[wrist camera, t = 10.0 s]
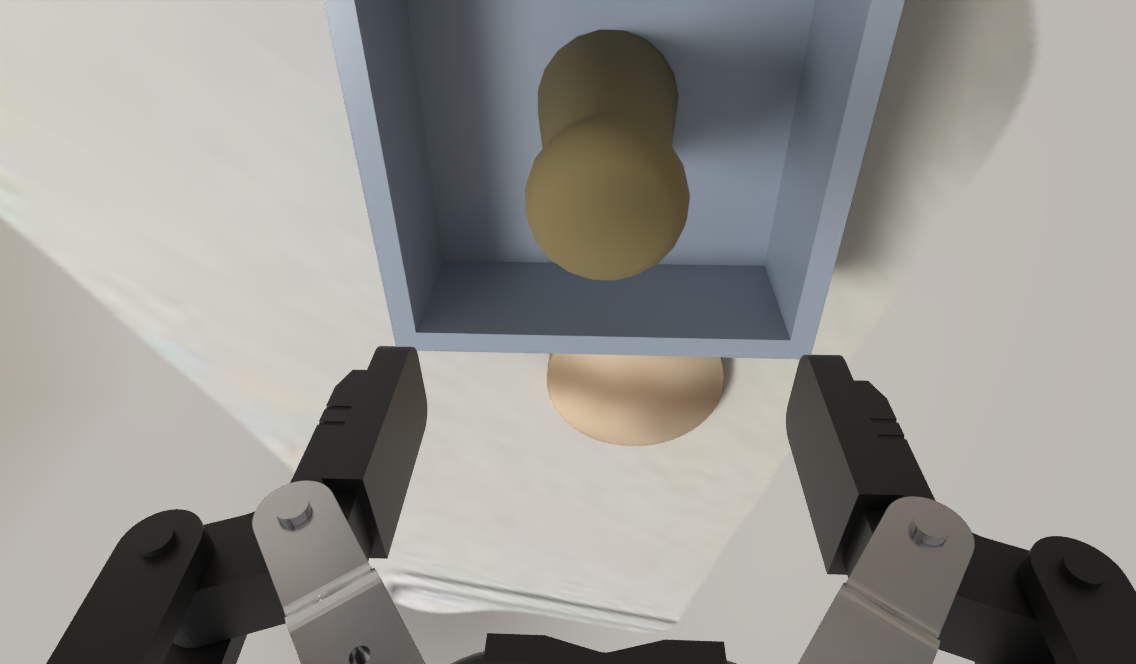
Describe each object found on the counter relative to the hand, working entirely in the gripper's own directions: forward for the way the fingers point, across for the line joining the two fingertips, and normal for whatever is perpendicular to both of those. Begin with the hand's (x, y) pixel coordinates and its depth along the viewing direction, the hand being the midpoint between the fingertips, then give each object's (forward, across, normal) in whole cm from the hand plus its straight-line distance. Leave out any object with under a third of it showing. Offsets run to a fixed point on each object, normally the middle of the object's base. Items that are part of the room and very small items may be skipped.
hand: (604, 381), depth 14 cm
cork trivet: (+19, -2, +16) cm, 25 cm away
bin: (+19, 0, 0) cm, 19 cm away
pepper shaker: (+18, 0, 0) cm, 18 cm away
